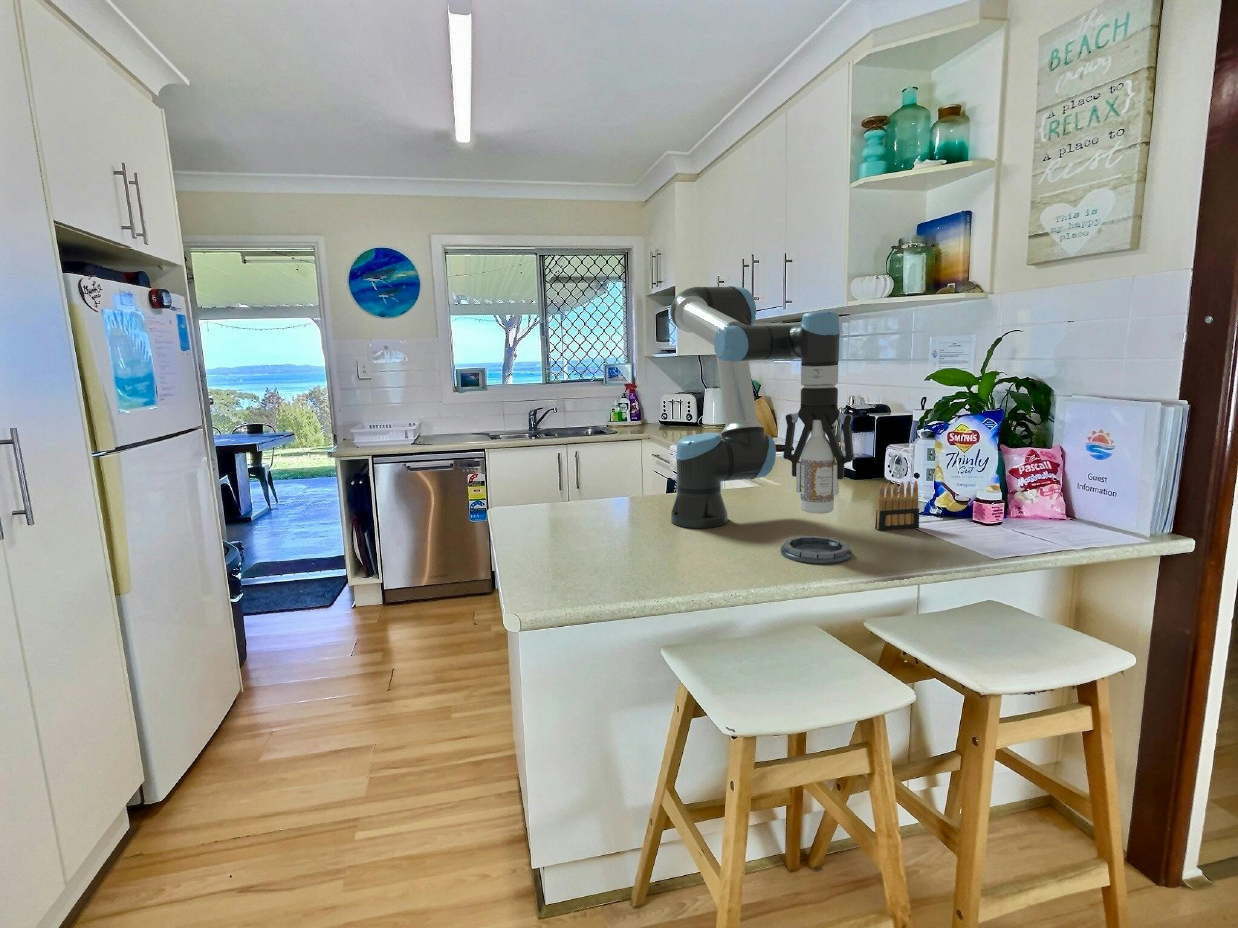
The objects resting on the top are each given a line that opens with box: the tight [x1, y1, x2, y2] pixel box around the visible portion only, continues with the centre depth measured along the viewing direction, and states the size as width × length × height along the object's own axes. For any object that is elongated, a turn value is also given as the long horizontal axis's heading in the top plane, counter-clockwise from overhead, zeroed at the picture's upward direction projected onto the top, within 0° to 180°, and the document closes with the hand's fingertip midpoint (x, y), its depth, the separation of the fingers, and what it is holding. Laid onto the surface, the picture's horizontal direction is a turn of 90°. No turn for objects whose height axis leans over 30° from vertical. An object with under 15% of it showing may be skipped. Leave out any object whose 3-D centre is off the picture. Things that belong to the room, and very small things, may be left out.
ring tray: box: [780, 535, 853, 565], centre depth 138 cm, size 15×15×2 cm
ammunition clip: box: [874, 480, 920, 532], centre depth 154 cm, size 11×2×12 cm, turn 97°
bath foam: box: [799, 420, 836, 515], centre depth 134 cm, size 7×7×20 cm
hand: (817, 492), depth 135 cm, fingers closed on bath foam, 7 cm apart
